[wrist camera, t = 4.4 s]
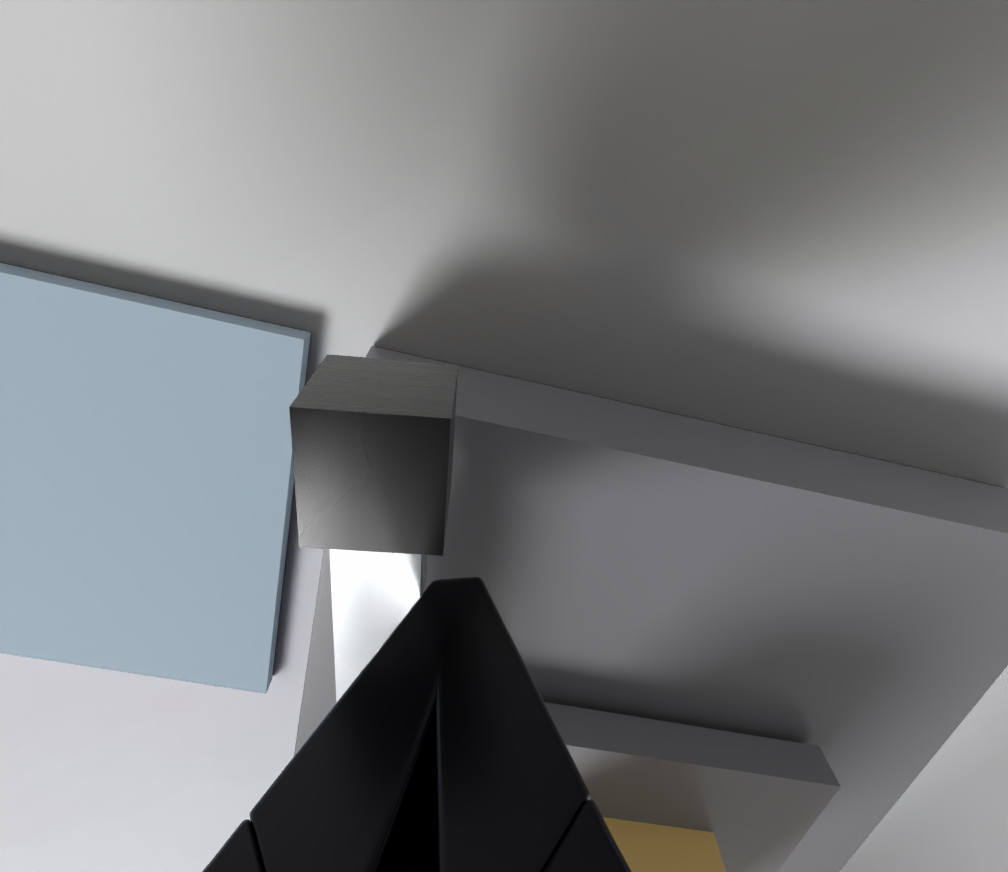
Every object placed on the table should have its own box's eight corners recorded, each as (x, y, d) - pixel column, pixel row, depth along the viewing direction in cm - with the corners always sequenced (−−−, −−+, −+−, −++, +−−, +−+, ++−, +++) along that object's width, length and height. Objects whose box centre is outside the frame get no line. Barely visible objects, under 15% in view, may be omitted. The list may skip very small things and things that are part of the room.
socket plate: (681, 954, 19) (701, 1040, 17) (283, 909, 17) (259, 998, 16) (1005, 488, 12) (1098, 552, 10) (372, 345, 10) (346, 391, 8)
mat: (272, 678, 14) (266, 693, 13) (-131, 615, 13) (-148, 630, 12) (311, 332, 10) (303, 340, 10) (-236, 209, 9) (-267, 212, 9)
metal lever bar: (422, 1023, 16) (412, 1154, 14) (359, 1022, 16) (339, 1153, 14) (465, 345, 8) (455, 419, 6) (337, 335, 8) (283, 405, 6)
